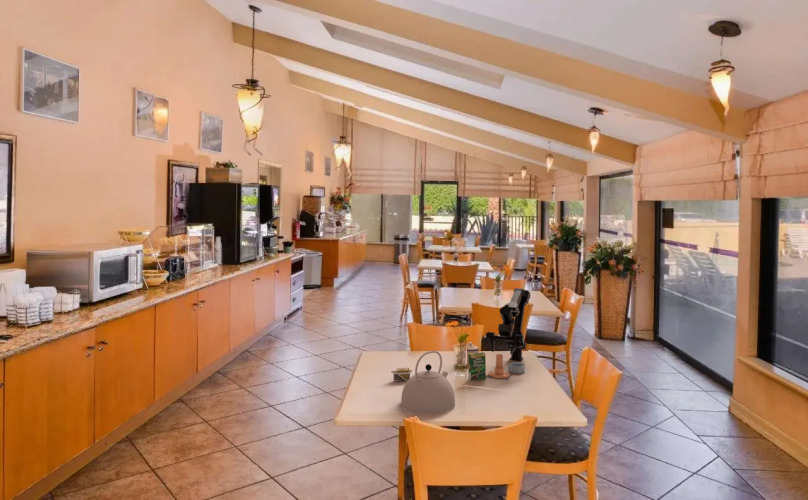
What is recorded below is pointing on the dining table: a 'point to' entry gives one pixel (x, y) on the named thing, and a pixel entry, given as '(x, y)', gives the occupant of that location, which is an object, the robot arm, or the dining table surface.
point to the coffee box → (477, 366)
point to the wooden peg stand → (499, 369)
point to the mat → (497, 378)
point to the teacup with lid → (471, 350)
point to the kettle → (428, 391)
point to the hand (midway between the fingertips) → (501, 352)
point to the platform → (402, 374)
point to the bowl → (516, 367)
